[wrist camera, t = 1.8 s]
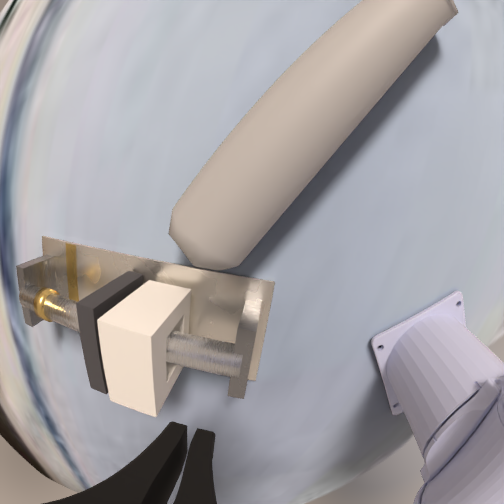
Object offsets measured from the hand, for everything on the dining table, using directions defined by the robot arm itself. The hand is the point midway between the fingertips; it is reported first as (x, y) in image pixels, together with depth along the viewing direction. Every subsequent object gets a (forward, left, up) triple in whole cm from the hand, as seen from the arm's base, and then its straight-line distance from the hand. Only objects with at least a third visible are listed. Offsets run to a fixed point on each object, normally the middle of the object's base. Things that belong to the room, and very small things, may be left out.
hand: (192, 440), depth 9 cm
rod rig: (+4, +6, -10) cm, 12 cm away
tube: (+11, -12, -10) cm, 19 cm away
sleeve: (+3, +3, -10) cm, 11 cm away
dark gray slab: (+4, +6, -10) cm, 12 cm away
